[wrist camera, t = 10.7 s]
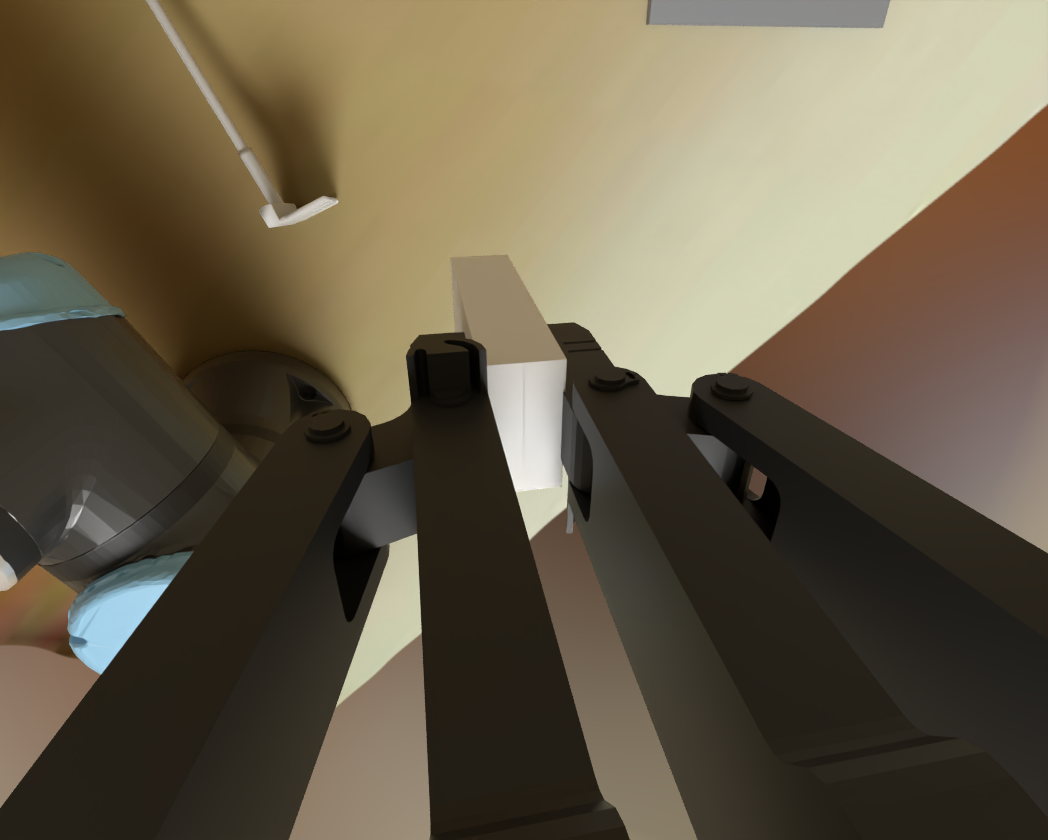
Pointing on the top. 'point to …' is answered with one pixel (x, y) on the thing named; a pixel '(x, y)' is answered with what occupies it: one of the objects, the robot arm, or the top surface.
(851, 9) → the mat
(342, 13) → the top surface
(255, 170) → the brush
